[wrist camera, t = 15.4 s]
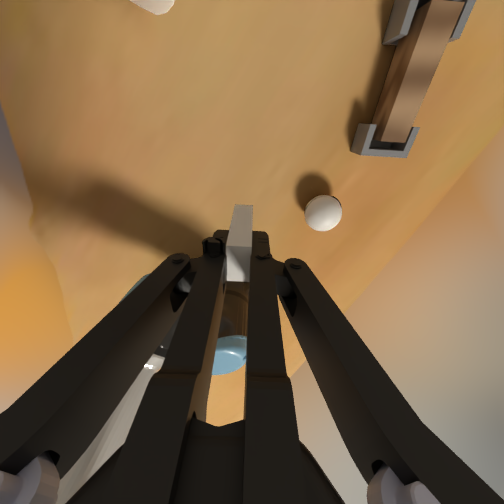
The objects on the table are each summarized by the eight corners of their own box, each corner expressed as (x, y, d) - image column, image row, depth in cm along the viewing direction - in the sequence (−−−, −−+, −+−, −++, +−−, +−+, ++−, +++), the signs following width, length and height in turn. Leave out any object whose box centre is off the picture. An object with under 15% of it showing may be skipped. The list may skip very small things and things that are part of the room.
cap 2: (395, -2, 28) (417, -20, 24) (452, 2, 28) (482, -15, 24) (381, 44, 30) (399, 34, 26) (434, 47, 30) (459, 38, 27)
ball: (337, 215, 46) (350, 231, 40) (305, 225, 47) (312, 242, 41) (331, 172, 40) (344, 182, 34) (294, 185, 42) (301, 196, 36)
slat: (388, 139, 37) (404, 142, 33) (366, 138, 37) (380, 141, 33) (434, 18, 28) (465, 2, 24) (406, 16, 28) (432, -1, 24)
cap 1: (391, 153, 38) (406, 157, 35) (350, 151, 38) (360, 155, 35) (402, 126, 36) (420, 127, 32) (358, 123, 36) (370, 124, 32)
